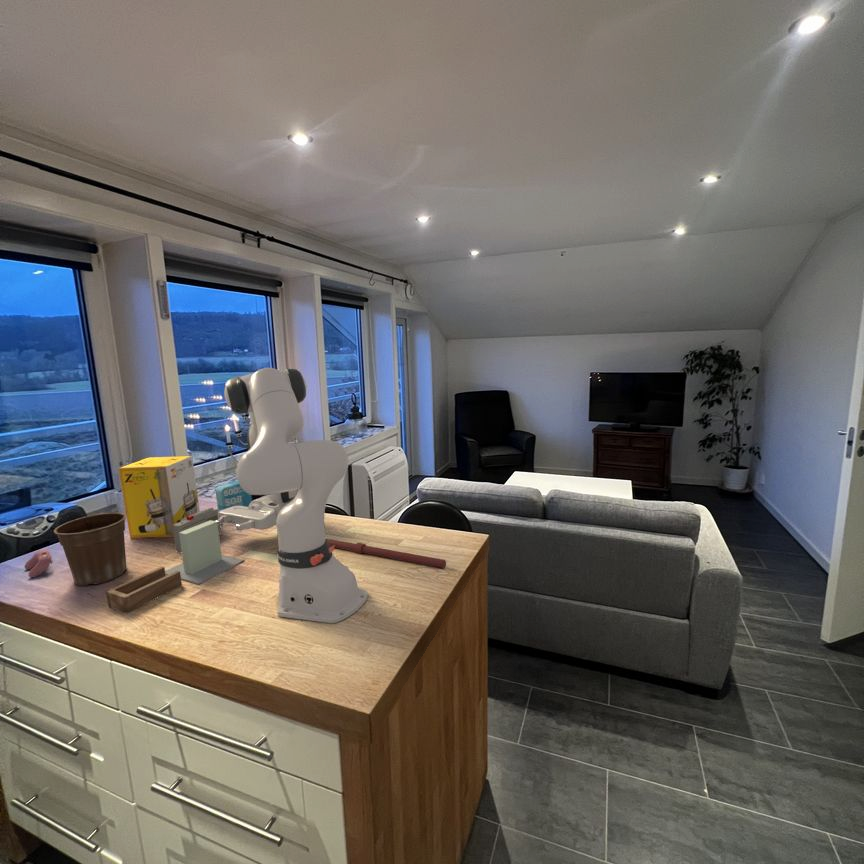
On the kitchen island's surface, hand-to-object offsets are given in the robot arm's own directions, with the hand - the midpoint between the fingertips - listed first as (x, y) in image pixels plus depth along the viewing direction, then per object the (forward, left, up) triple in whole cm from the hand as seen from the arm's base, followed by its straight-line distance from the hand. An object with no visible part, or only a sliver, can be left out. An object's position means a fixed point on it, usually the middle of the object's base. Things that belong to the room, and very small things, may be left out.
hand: (226, 526), depth 138 cm
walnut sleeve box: (0, +25, -9) cm, 27 cm away
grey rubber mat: (0, +9, -9) cm, 13 cm away
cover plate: (0, +9, -9) cm, 13 cm away
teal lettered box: (+30, -28, -9) cm, 42 cm away
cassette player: (+18, -3, -9) cm, 20 cm away
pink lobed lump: (+45, +30, -9) cm, 55 cm away
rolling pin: (-43, -16, -10) cm, 47 cm away
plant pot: (+24, +24, -9) cm, 35 cm away
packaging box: (+41, -7, -9) cm, 42 cm away
